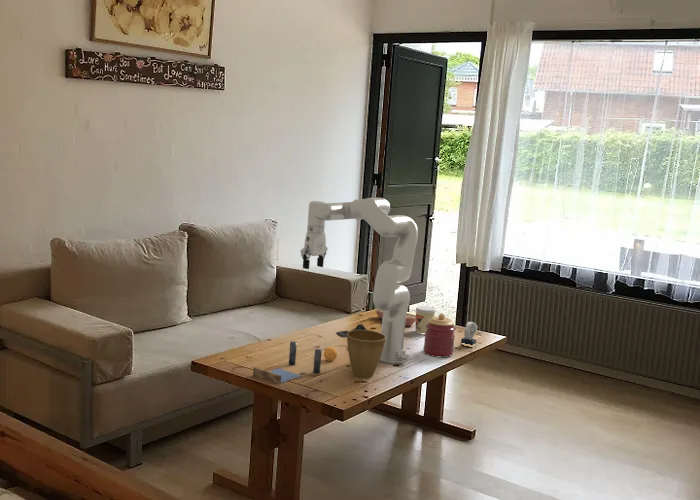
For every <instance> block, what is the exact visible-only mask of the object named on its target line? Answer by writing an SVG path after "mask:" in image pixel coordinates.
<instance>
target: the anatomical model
mask: <svg viewBox="0 0 700 500" xmlns="http://www.w3.org/2000/svg"><path fill="white" fill-rule="evenodd" d="M375 311H376V316H378V318H379V319H381V320H383V314H384V311H382V310H379V309H378V308H376V309H375ZM415 323H416V314H410V313H407V314H406V323H405V327H410V326H412V325H414V324H415Z"/></svg>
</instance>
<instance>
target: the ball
mask: <svg viewBox="0 0 700 500" xmlns="http://www.w3.org/2000/svg"><path fill="white" fill-rule="evenodd" d="M323 358H324V359H325V360H327V361H328V362H332V361H335V360H336V359H337V358H338V350H337V349H336V348H334V347H332V346H329V347H327V348H325V349H324V351H323Z"/></svg>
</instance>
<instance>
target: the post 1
mask: <svg viewBox="0 0 700 500" xmlns="http://www.w3.org/2000/svg"><path fill="white" fill-rule="evenodd" d="M297 344H298V343H297V341H295V340H294V341H293V340H292V341H290V342H289V352H288V353H289V355H288V365H289V366H295V365H296V363H297V362H296V358H297Z"/></svg>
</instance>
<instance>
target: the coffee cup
mask: <svg viewBox="0 0 700 500" xmlns="http://www.w3.org/2000/svg"><path fill="white" fill-rule="evenodd" d="M435 314H436V309H435V308H434V307H432V306H426V305H425V306H424V305H419V306H417V307H415V316H416V321H415V333H416V332H419V333H425V332H426V329H427V328H426V324H428V323H429V322H428V320H429V319H431V318H432V317H436V316H435Z"/></svg>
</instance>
